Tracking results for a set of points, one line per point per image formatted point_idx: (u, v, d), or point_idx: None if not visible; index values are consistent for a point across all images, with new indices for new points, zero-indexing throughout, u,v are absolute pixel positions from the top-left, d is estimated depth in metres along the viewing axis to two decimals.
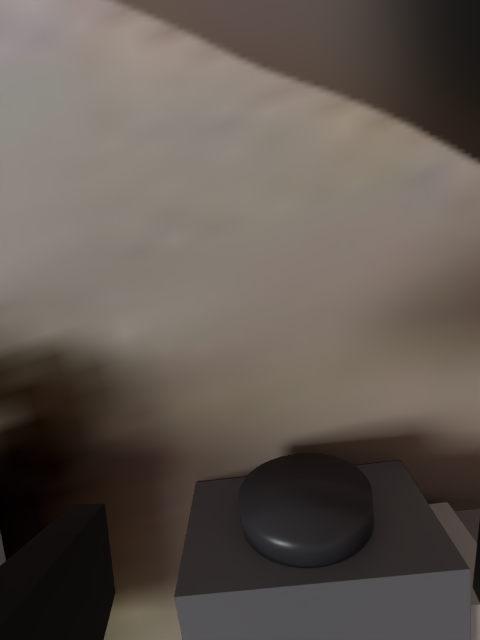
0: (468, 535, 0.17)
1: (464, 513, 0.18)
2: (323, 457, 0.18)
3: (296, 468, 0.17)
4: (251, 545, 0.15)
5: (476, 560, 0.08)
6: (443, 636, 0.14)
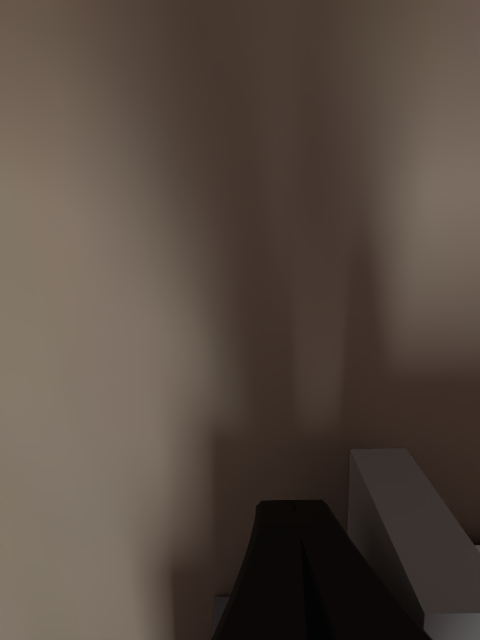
0: None
1: None
2: None
3: None
4: None
5: None
6: None
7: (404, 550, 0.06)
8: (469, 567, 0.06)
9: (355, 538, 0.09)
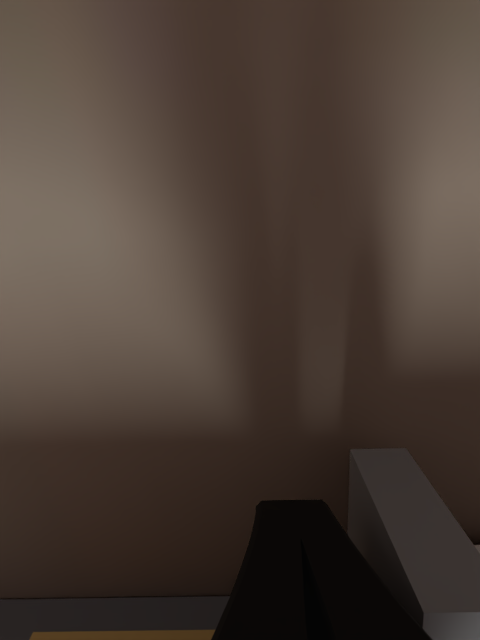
0: None
1: None
2: None
3: None
4: None
5: None
6: None
7: (404, 549, 0.07)
8: (468, 566, 0.06)
9: (355, 539, 0.09)
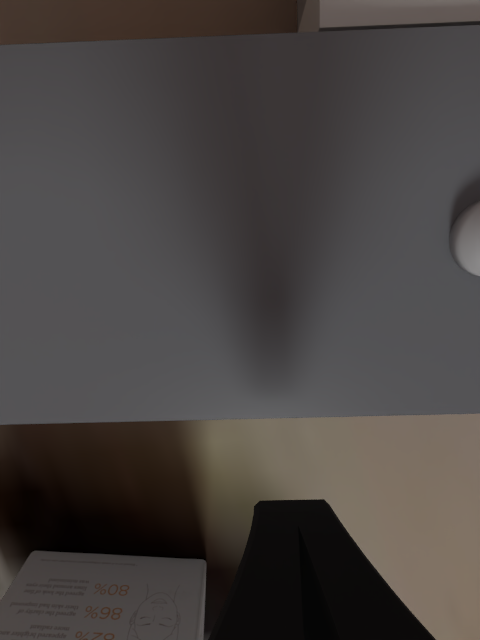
0: (302, 17, 0.12)
1: (297, 19, 0.14)
2: None
3: None
4: None
5: None
6: None
7: None
8: None
9: None
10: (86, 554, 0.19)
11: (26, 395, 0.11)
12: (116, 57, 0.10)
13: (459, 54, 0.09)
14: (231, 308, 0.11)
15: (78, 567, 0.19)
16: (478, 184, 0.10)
